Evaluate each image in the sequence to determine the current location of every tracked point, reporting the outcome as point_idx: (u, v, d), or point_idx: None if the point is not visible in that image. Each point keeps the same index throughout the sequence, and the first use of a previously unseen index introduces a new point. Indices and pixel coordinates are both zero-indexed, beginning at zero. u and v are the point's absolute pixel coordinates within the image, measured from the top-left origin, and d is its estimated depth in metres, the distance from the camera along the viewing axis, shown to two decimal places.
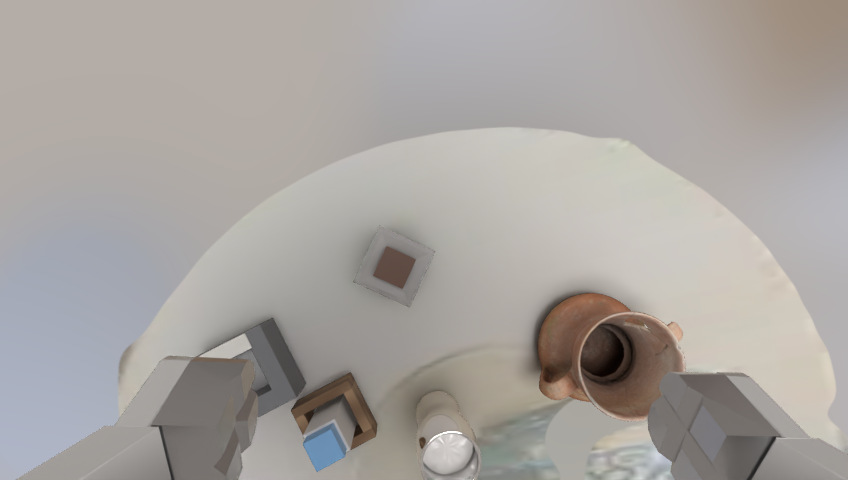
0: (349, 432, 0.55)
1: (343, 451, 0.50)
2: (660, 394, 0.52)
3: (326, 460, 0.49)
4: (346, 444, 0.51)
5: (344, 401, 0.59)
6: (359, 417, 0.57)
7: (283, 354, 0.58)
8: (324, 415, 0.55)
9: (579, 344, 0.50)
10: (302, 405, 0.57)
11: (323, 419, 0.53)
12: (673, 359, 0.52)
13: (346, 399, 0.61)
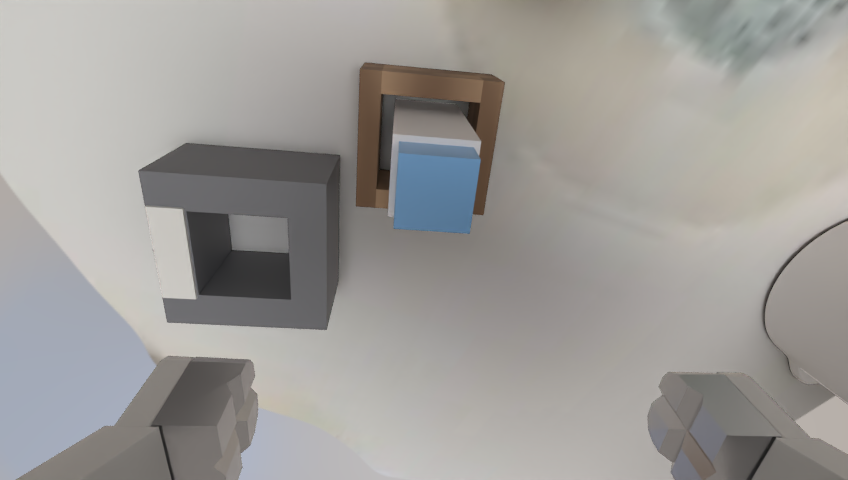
0: (454, 125, 0.23)
1: (468, 156, 0.19)
2: None
3: (459, 201, 0.19)
4: (464, 142, 0.20)
5: (405, 105, 0.27)
6: (447, 92, 0.25)
7: (247, 162, 0.27)
8: None
9: None
10: (358, 182, 0.27)
11: None
12: None
13: (408, 101, 0.28)
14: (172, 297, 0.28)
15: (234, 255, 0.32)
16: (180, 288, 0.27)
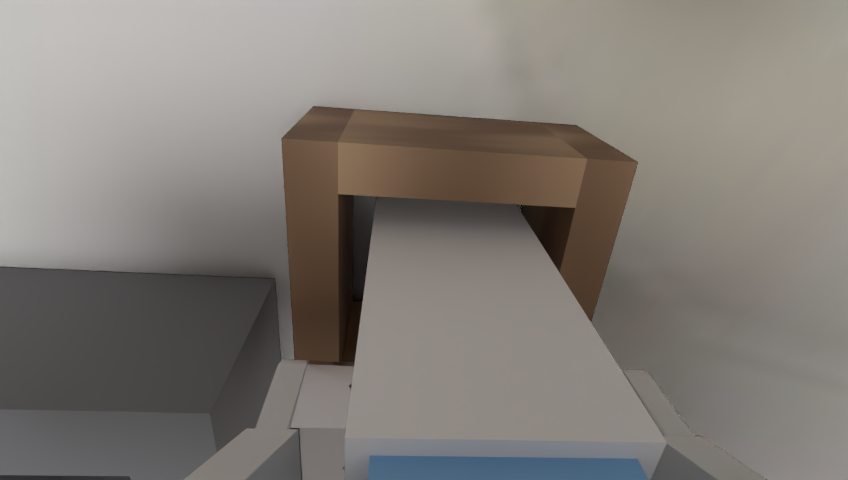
0: (532, 300, 0.08)
1: None
2: None
3: None
4: (605, 445, 0.06)
5: (398, 201, 0.12)
6: (498, 186, 0.10)
7: (56, 330, 0.12)
8: None
9: None
10: None
11: None
12: None
13: None
14: None
15: None
16: None
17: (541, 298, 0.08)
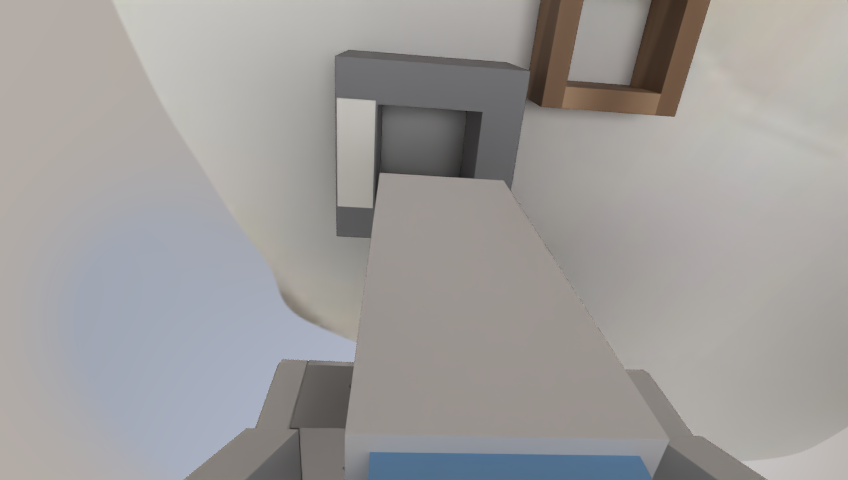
0: (533, 297, 0.08)
1: None
2: None
3: None
4: (607, 442, 0.06)
5: (398, 198, 0.12)
6: None
7: (428, 59, 0.25)
8: None
9: None
10: (548, 78, 0.25)
11: None
12: None
13: (406, 181, 0.14)
14: (347, 206, 0.26)
15: None
16: (358, 194, 0.26)
17: (542, 295, 0.08)
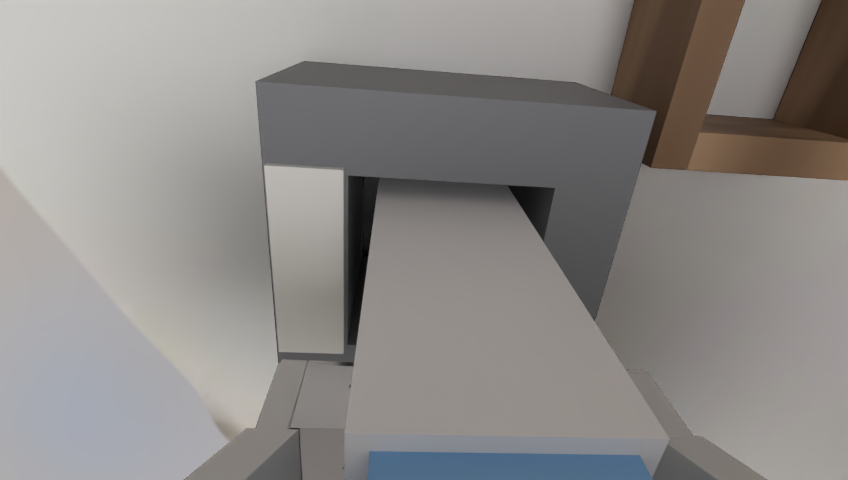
0: (533, 297, 0.08)
1: None
2: None
3: None
4: (607, 442, 0.06)
5: (398, 197, 0.12)
6: None
7: (447, 82, 0.14)
8: None
9: None
10: (670, 117, 0.14)
11: None
12: None
13: (406, 180, 0.14)
14: (297, 350, 0.14)
15: None
16: (315, 333, 0.14)
17: (542, 294, 0.08)
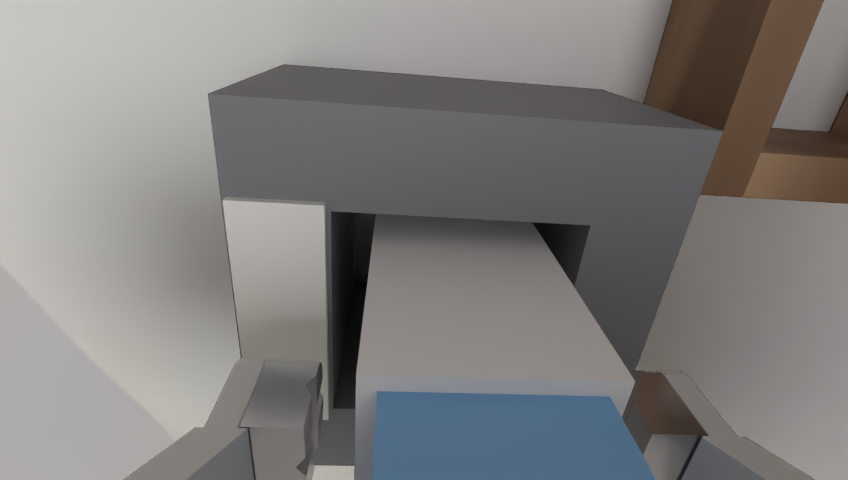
0: (522, 270, 0.09)
1: None
2: None
3: None
4: (582, 384, 0.07)
5: None
6: None
7: (454, 91, 0.11)
8: None
9: None
10: (726, 135, 0.11)
11: None
12: None
13: None
14: None
15: (364, 298, 0.17)
16: None
17: (531, 268, 0.09)
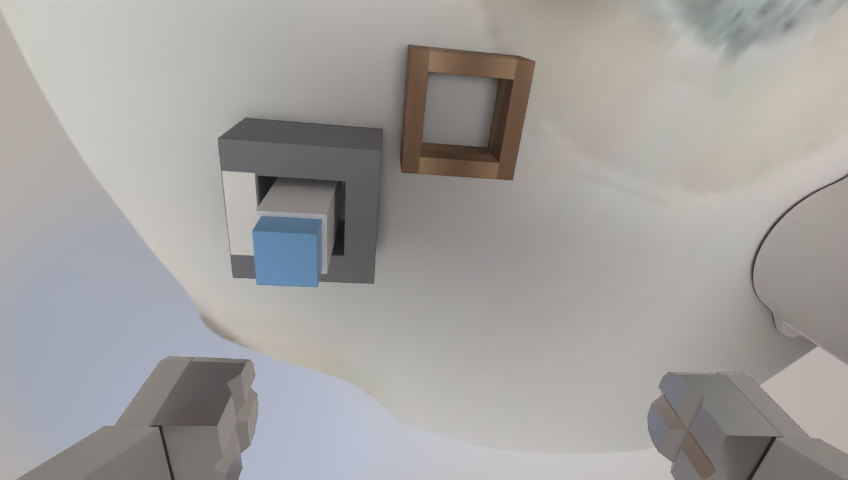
0: (318, 194, 0.29)
1: (307, 232, 0.25)
2: None
3: (305, 264, 0.25)
4: (313, 215, 0.26)
5: None
6: (485, 70, 0.29)
7: (305, 134, 0.31)
8: None
9: None
10: (405, 150, 0.31)
11: None
12: None
13: None
14: (239, 254, 0.31)
15: None
16: (247, 245, 0.31)
17: (322, 194, 0.29)
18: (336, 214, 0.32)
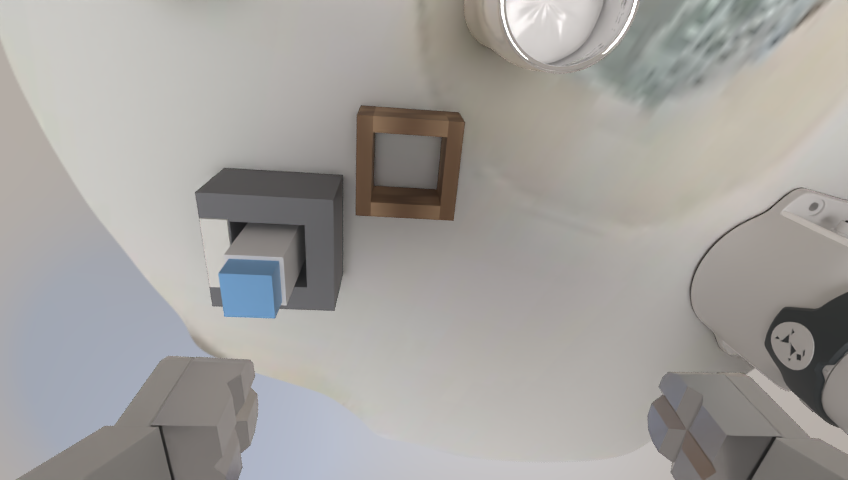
0: (280, 237, 0.34)
1: (264, 273, 0.30)
2: None
3: (263, 299, 0.30)
4: (272, 258, 0.31)
5: None
6: (422, 130, 0.34)
7: (272, 183, 0.36)
8: None
9: None
10: (357, 197, 0.36)
11: None
12: None
13: None
14: (217, 286, 0.36)
15: None
16: None
17: (284, 236, 0.34)
18: (301, 251, 0.37)
